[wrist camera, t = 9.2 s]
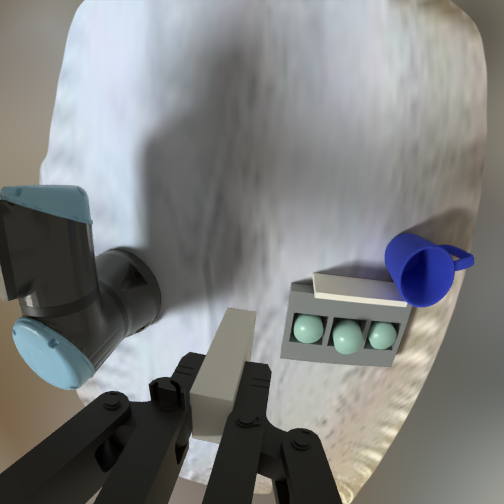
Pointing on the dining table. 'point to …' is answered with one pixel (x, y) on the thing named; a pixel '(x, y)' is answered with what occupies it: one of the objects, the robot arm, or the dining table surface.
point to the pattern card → (356, 290)
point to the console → (324, 347)
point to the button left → (308, 327)
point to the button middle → (347, 336)
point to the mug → (423, 268)
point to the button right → (381, 334)
